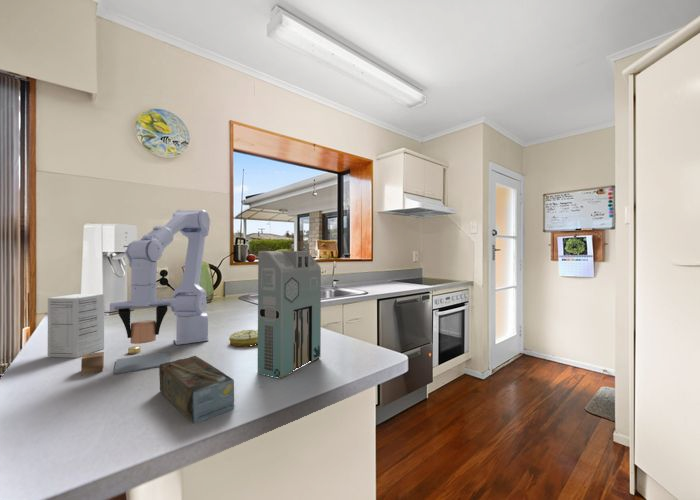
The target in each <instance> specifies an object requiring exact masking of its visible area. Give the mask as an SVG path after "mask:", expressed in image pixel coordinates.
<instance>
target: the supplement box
mask: <svg viewBox="0 0 700 500" xmlns="http://www.w3.org/2000/svg"><path fill="white" fill-rule="evenodd" d="M104 349H105V294H104V293H75V294H69V295H68V294H67V295H60V296H53V297H52V296H51V297H47V358H70V359H76V358H79V357H80V358H81V357H83V355H84V354H91V353H96V352H99V351H100V350H104Z"/></svg>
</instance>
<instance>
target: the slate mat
mask: <svg viewBox="0 0 700 500" xmlns="http://www.w3.org/2000/svg"><path fill="white" fill-rule="evenodd" d="M168 362H171V359H170V357H169V353H168V351H164V352H163V351H162V352H156V353H150V354H141V355H136V356H129V357H122V358H116V361H115V365H114V366H115V367H114V370H113V375H114V376H115V375H120V374H126V373H132V372H138V371H144V370H149V369H155V368H159V366H160V364H164V363H168Z"/></svg>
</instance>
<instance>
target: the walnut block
mask: <svg viewBox="0 0 700 500" xmlns="http://www.w3.org/2000/svg"><path fill="white" fill-rule="evenodd" d="M80 360H81V366H80V367H81V368H80V369H81V371H80V372H81V373H80V375H81V376H84V375H92V374H96V373H97V374H98V373H103V372H104V367H105V366H104V365H105V363H104V362H105V361H104V360H105V352H104V351H97V352H92V353H89V354H84V355H83V356H81V359H80Z"/></svg>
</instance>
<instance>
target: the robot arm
mask: <svg viewBox="0 0 700 500" xmlns="http://www.w3.org/2000/svg"><path fill="white" fill-rule="evenodd" d="M210 224H211V218H210V216H209V213H208V212H207V210H205V209H200V210H199V209H193V210H192V209H191V210H190V209H189V210H188V209H187V210H186V209H185V210H184V209H183V210H181V209H178V210H176V211H175V212H173V213H172V218H171V219H170V220H169V221H168V222H166V223H165V225H164V226H163V225H162V226H161V225H160V226H159V225H157V226H156V225H155V226H154V227H152V230H151V231H150V232H148V233H147V234H145V235H143V236H142V238H140V239H135V240H132V241H131V242H129V244H128V245H127V247H126V250H125V256H126V258H127V260H128V266H129V268H130V270H131V271H130V274H131V275H130V281H131V282H130V300H128V301H118V302H116V301H115V302H110V303H109V312H115V311H118V316H119V317H120V319H121V321H122V323H123V325H124V328H125V331H126V337H127V339H131V310H141V309H151V308H155V311H156V312H155V316H156V317H155V321H156V336H157V335H160V329H161V325H162V323H163V320H164V317H165V315H167V312H168V309H169V308H168V307H170V310H171V311H172V313H174V316H176V321H175V322H176V324H175V325H176V326H175V327H176V329H175V331H176V332H175V333H176V334H175V335H176V337H175V338H173V341H174V343H175V345H177V346H179V345H186V344H194V343H201V342H202V343H203V342H207V341H209V320H208V319H209V316H208V313H207V312H205V310H206V308H207V304H208V303H207V301H208V299H207V291H206V289H204V288H203V287H202V286H200V279H201V272H202V265H203V257H204V250H205V242H206V237H208V236H209V232H210V226H211V225H210ZM179 232H180V234H182V236H184V237H186V238H187V240H188V242H187V248H186V256H185V263H184V270H183V275H182V282H181V285H180V286H178V287H176V288H175V289H174V290H173V294H172V298H160V299H159V298H158V299H157V278H158V277H157V271H158V270H157V265H158V263H157V262H158V261H159V260H160V259H161V258H162V256H163V252H164V251H165V249H166V247H168V246H169V245H170V244H171V243H172V242H173V240H174V235H176V234H177V233H179Z"/></svg>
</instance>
